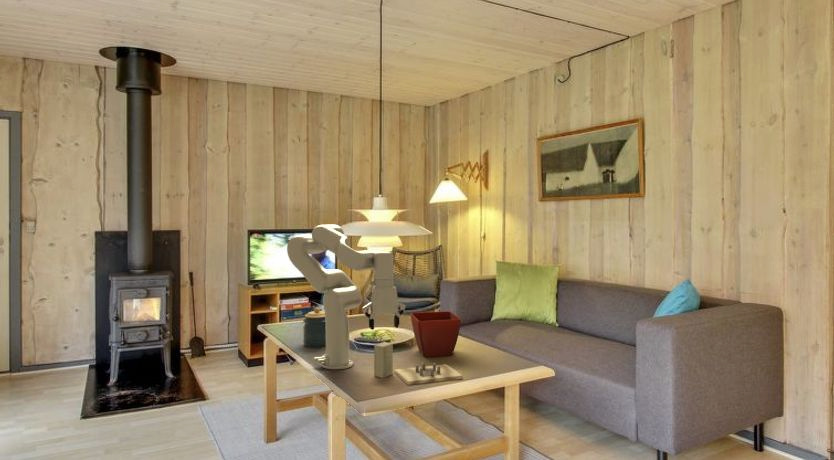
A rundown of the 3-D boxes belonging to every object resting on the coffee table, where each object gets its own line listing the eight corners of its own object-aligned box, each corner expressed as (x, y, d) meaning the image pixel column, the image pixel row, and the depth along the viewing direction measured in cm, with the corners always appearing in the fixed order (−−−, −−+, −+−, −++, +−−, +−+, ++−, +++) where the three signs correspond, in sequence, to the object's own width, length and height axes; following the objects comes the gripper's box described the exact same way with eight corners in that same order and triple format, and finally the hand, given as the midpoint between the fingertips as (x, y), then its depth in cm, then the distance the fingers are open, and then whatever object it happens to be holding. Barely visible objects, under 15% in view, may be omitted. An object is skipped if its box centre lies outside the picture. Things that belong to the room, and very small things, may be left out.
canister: (298, 344, 255) (298, 307, 255) (323, 340, 263) (322, 304, 263) (310, 349, 245) (310, 311, 244) (335, 345, 253) (335, 308, 252)
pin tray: (407, 384, 194) (407, 374, 194) (394, 372, 209) (394, 363, 209) (462, 378, 202) (462, 368, 202) (446, 367, 217) (446, 358, 217)
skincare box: (384, 372, 210) (384, 341, 209) (393, 374, 207) (393, 343, 207) (373, 376, 205) (373, 344, 205) (382, 378, 202) (382, 346, 202)
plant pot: (418, 360, 228) (418, 320, 227) (410, 348, 247) (410, 312, 246) (461, 357, 232) (461, 319, 231) (450, 347, 250) (450, 311, 250)
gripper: (364, 285, 198) (364, 331, 199) (408, 283, 204) (408, 328, 205) (359, 283, 205) (359, 328, 206) (402, 281, 211) (402, 324, 212)
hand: (384, 328), depth 205 cm, fingers open, 9 cm apart
